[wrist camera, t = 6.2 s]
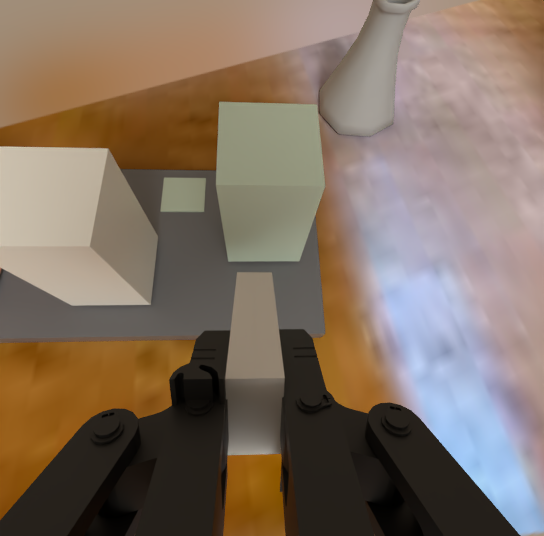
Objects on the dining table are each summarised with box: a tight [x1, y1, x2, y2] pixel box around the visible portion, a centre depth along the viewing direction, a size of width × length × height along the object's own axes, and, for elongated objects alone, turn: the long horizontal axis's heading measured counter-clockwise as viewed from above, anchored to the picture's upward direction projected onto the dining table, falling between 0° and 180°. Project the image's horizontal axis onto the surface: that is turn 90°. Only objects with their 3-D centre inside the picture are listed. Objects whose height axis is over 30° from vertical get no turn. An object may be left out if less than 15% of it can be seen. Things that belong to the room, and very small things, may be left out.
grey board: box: [0, 169, 325, 343], centre depth 25 cm, size 28×13×2 cm, turn 91°
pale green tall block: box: [216, 102, 325, 262], centre depth 20 cm, size 5×5×9 cm
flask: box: [319, 0, 420, 137], centre depth 27 cm, size 7×7×10 cm
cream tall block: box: [0, 146, 158, 306], centre depth 19 cm, size 5×5×9 cm
